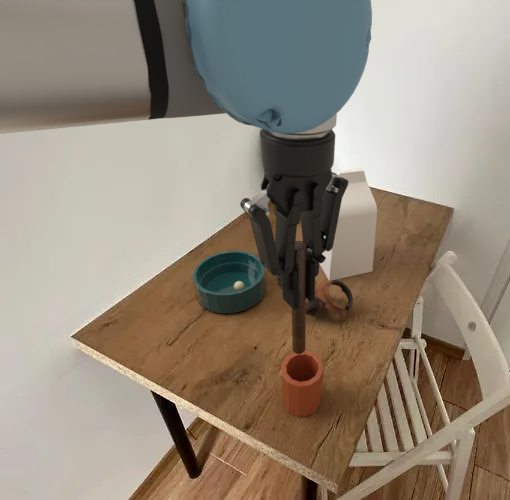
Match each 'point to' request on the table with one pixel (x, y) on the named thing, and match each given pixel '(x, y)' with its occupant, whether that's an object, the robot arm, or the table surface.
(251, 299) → the bowl
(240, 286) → the bead
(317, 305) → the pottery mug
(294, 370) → the crock
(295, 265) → the stirring stick
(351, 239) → the milk
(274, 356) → the table surface
